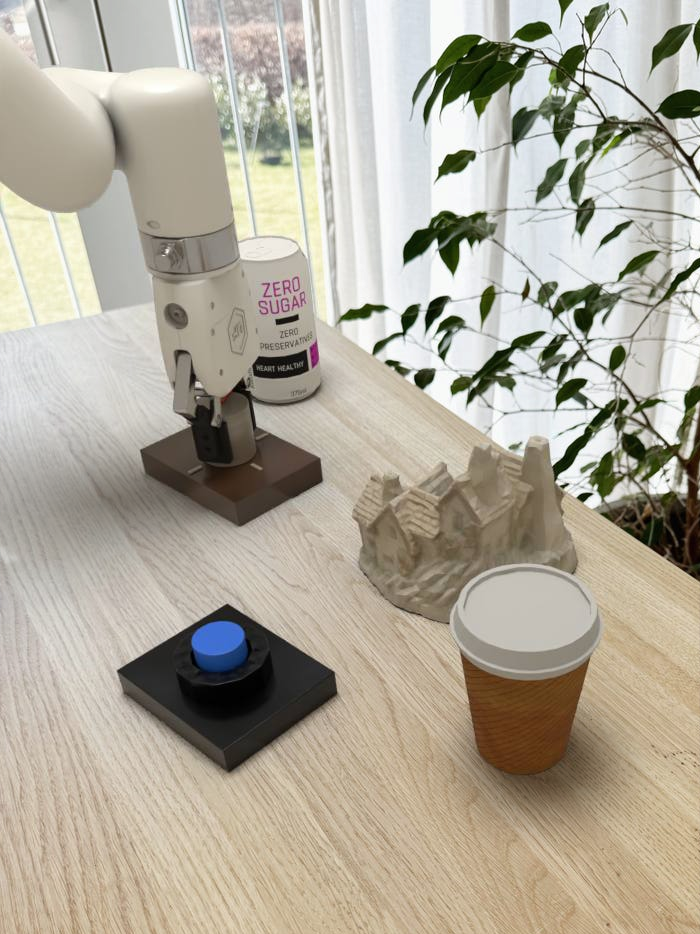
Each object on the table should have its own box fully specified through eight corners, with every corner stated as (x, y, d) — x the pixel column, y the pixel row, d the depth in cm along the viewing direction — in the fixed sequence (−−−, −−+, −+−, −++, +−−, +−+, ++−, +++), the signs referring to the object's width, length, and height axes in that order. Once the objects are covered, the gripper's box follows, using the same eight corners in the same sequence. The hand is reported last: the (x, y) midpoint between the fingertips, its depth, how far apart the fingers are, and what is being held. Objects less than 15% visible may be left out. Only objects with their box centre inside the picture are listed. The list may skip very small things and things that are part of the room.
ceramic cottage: (604, 564, 84) (605, 399, 74) (456, 657, 76) (436, 487, 67) (481, 498, 93) (468, 344, 84) (338, 575, 86) (305, 415, 76)
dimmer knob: (245, 469, 91) (236, 417, 88) (193, 464, 92) (182, 412, 88) (264, 442, 95) (255, 390, 91) (213, 437, 95) (203, 386, 92)
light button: (185, 658, 70) (180, 639, 69) (226, 632, 72) (222, 614, 71) (217, 681, 68) (213, 662, 67) (258, 654, 71) (255, 635, 69)
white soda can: (278, 364, 113) (258, 227, 103) (337, 382, 109) (322, 242, 100) (229, 394, 107) (203, 252, 98) (289, 413, 104) (269, 269, 94)
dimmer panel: (145, 472, 95) (138, 448, 94) (228, 432, 101) (223, 408, 99) (239, 527, 89) (235, 501, 87) (323, 480, 94) (320, 456, 93)
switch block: (123, 692, 73) (109, 651, 70) (231, 624, 79) (223, 584, 76) (228, 773, 67) (218, 731, 64) (338, 693, 73) (332, 652, 70)
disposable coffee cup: (424, 734, 70) (417, 599, 62) (526, 674, 74) (532, 541, 66) (515, 817, 64) (520, 680, 56) (619, 746, 69) (638, 611, 61)
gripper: (192, 290, 74) (232, 499, 86) (271, 213, 86) (297, 404, 98) (97, 282, 75) (150, 490, 87) (189, 208, 88) (224, 398, 99)
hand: (228, 443), depth 93 cm, fingers closed on dimmer knob, 5 cm apart
